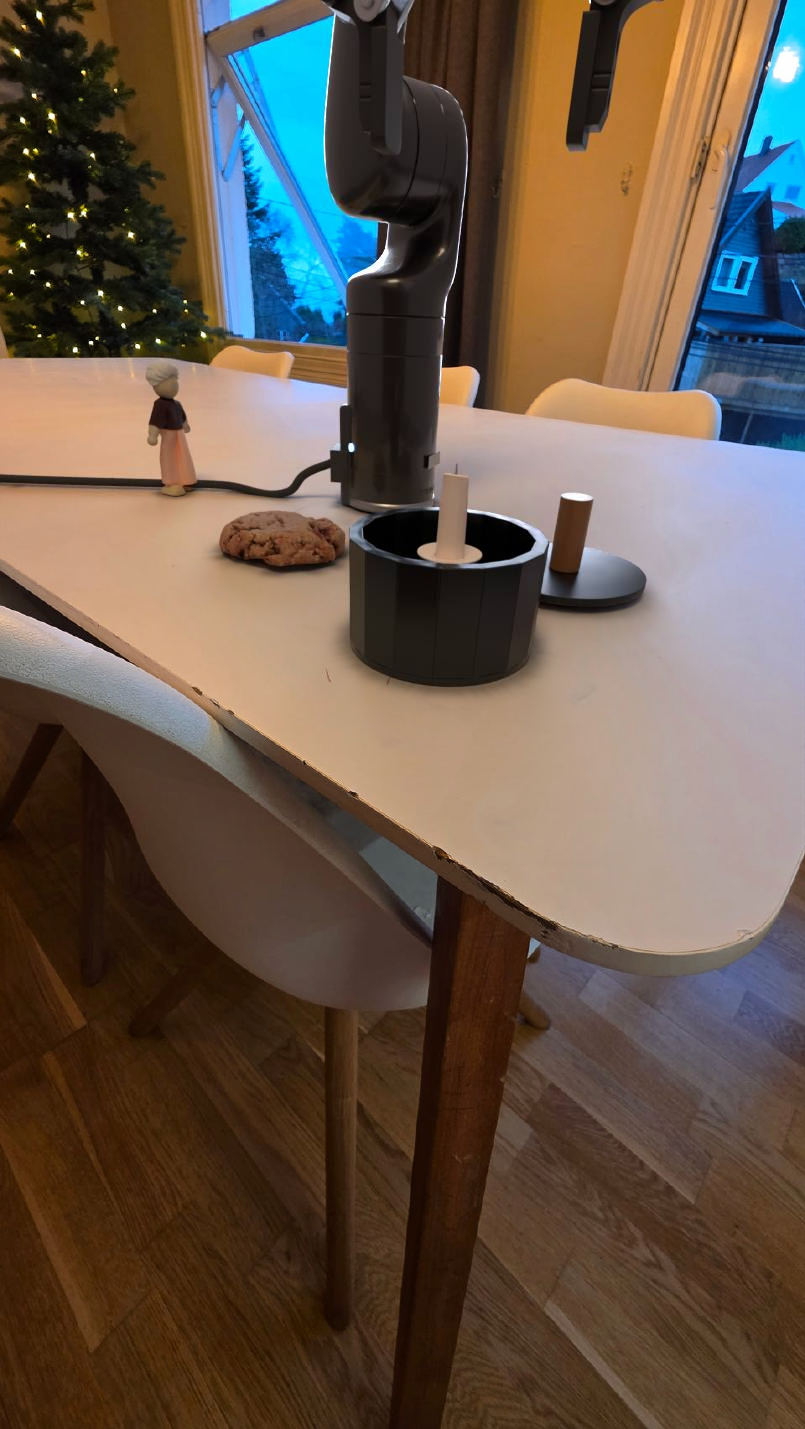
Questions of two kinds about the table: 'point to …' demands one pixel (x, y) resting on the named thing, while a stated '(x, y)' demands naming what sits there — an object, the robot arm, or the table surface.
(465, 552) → the candle
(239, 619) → the table surface
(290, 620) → the table surface
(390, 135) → the robot arm
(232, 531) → the cookie
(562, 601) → the tin lid
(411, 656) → the tin
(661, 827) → the table surface
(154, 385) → the grandmother figurine
